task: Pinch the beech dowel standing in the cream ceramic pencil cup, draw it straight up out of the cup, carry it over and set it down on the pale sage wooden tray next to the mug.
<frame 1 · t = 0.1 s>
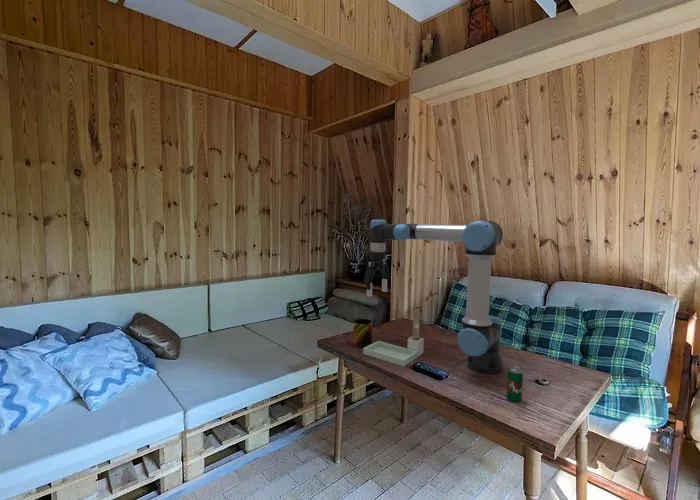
hand: (377, 293, 169), 28 cm above the table, fingers open, 13 cm apart
tray: (390, 357, 161), on the table
mug: (360, 343, 180), on the table
dowel: (415, 353, 164), point 1 cm above the table, touching cup
soda can: (513, 400, 124), on the table
cup: (415, 354, 164), on the table
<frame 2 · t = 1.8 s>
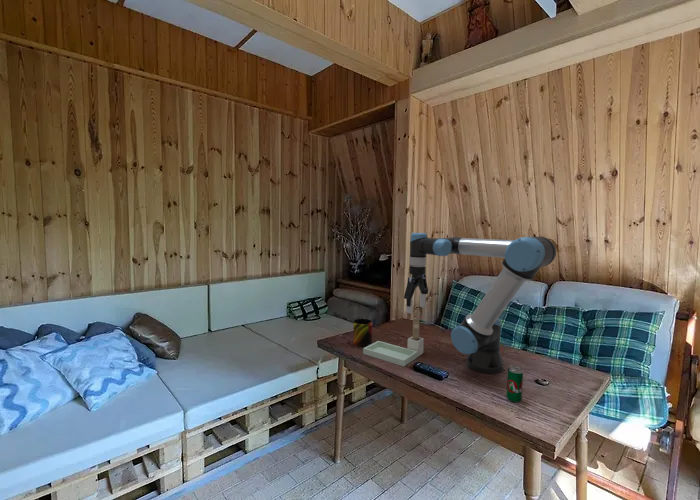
hand: (416, 310, 162), 22 cm above the table, fingers open, 13 cm apart
nothing on the table moved.
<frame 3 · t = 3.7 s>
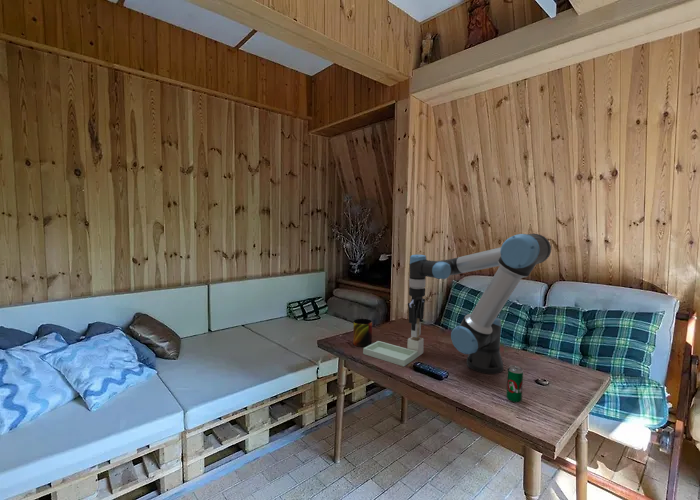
hand: (415, 335, 163), 10 cm above the table, fingers closed on dowel, 3 cm apart
dowel: (415, 353, 164), point 1 cm above the table, touching cup, gripper
everything else where it was.
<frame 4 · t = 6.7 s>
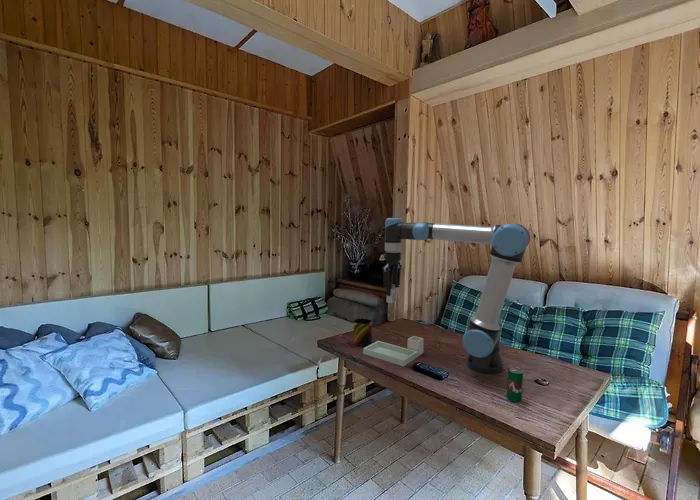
hand: (391, 301, 159), 27 cm above the table, fingers closed on dowel, 3 cm apart
dowel: (390, 319, 160), point 18 cm above the table, touching gripper
everything else where it was.
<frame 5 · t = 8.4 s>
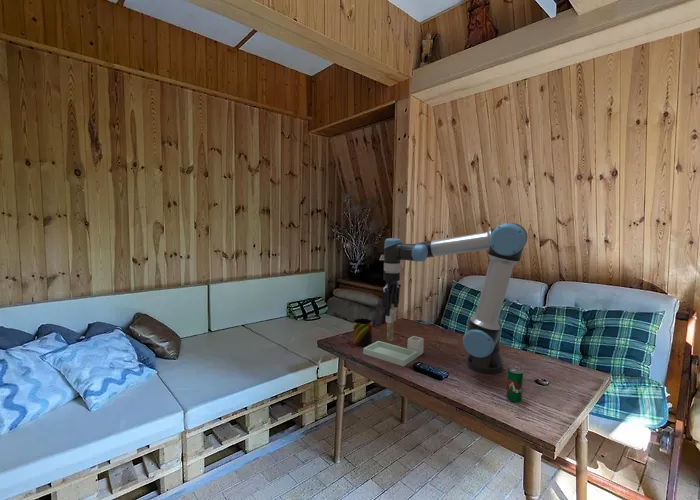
hand: (390, 321, 160), 17 cm above the table, fingers closed on dowel, 3 cm apart
dowel: (390, 339, 161), point 9 cm above the table, touching gripper
everything else where it was.
when the fingers open (10 cm above the table, at t = 9.9 s): dowel stays where it is, resting on tray.
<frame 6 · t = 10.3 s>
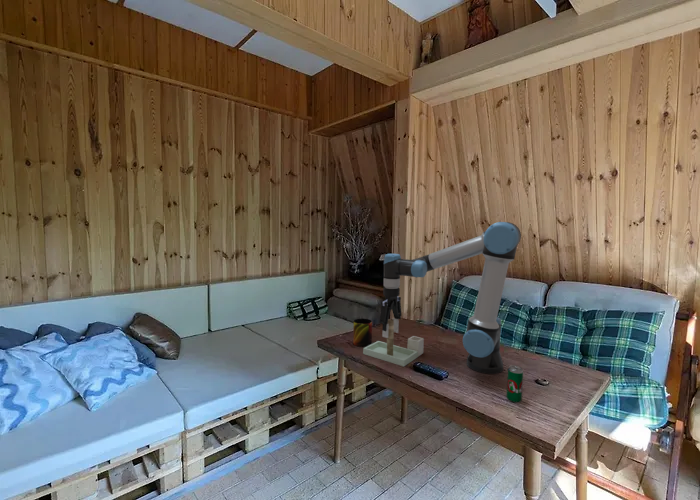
hand: (390, 334, 160), 11 cm above the table, fingers open, 8 cm apart
dowel: (390, 355, 161), point 1 cm above the table, touching tray
everything else where it was.
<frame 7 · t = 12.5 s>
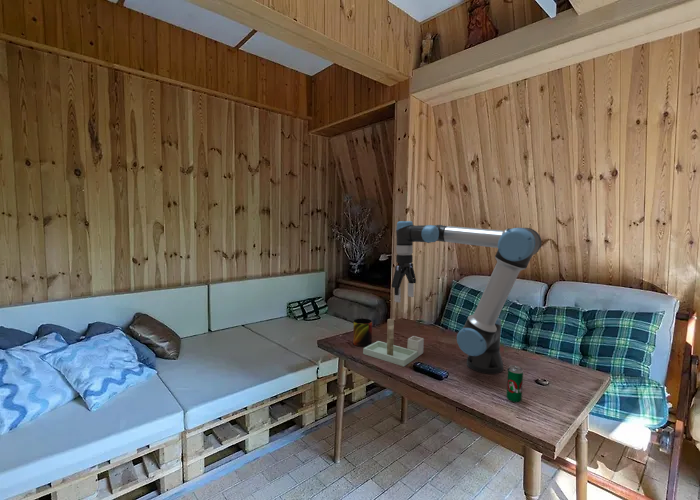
hand: (404, 299, 161), 27 cm above the table, fingers open, 13 cm apart
nothing on the table moved.
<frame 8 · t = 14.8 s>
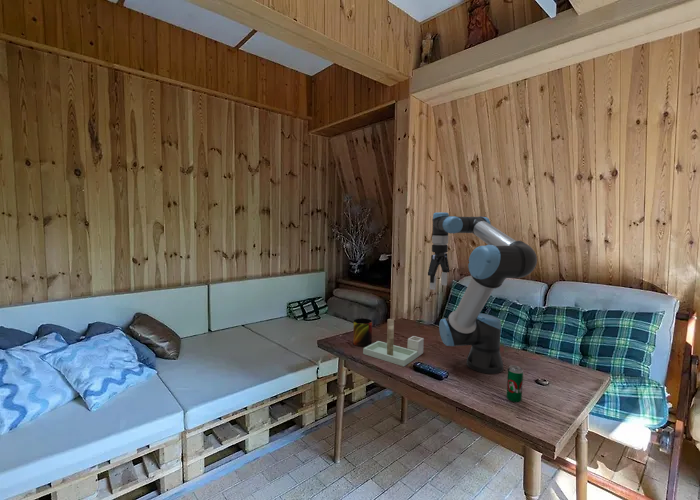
hand: (438, 287, 168), 32 cm above the table, fingers open, 13 cm apart
nothing on the table moved.
at the end: dowel inside the target area on the tray (0.0 cm from its centre), point 1.0 cm above the tray's base; dowel touching tray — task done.
